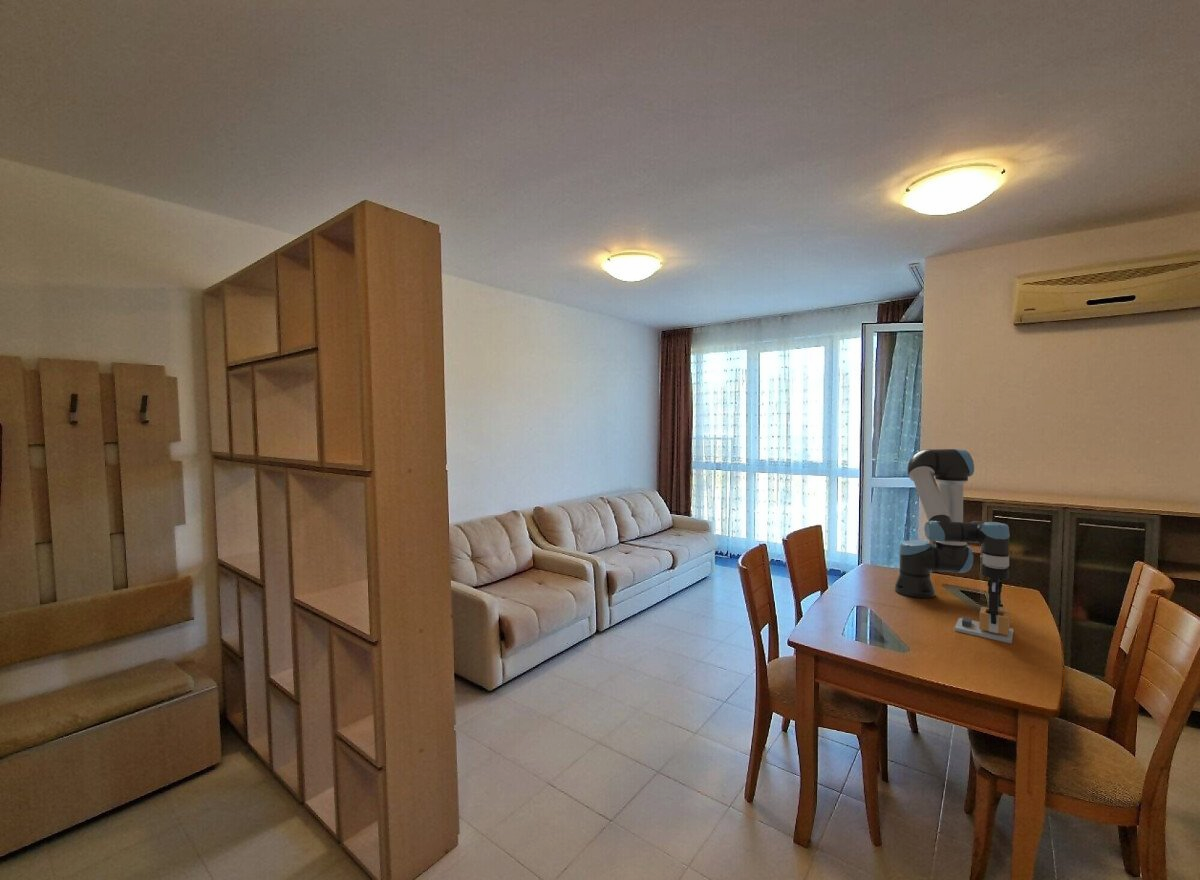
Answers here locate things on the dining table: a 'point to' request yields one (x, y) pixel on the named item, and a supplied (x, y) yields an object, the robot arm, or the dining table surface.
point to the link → (1003, 620)
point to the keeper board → (973, 628)
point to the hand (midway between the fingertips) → (994, 628)
